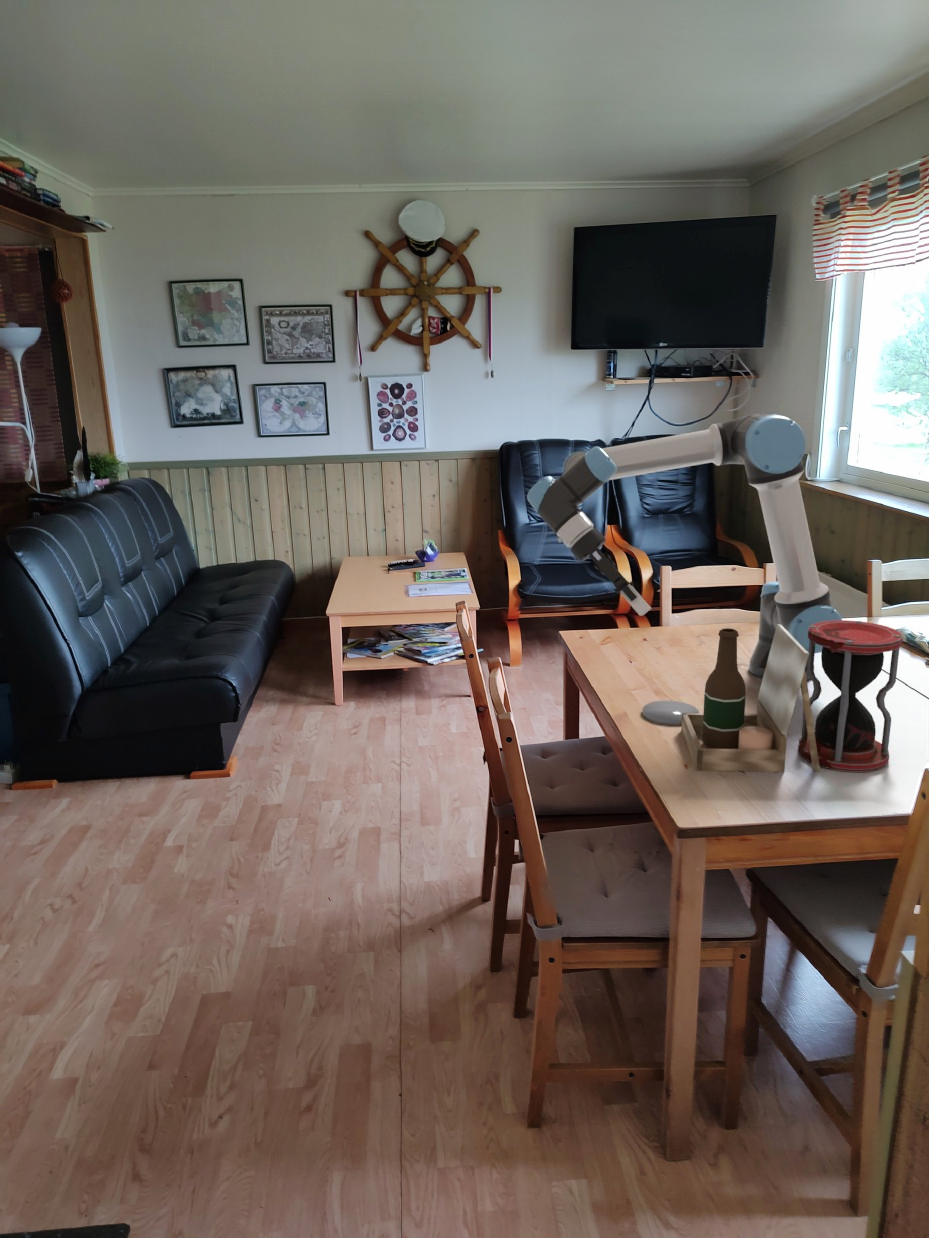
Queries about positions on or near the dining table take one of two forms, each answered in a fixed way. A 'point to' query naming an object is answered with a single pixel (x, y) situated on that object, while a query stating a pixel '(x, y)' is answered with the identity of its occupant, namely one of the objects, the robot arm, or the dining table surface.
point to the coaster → (667, 712)
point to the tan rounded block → (755, 738)
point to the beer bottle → (724, 697)
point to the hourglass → (850, 694)
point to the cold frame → (763, 714)
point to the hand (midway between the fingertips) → (646, 612)
